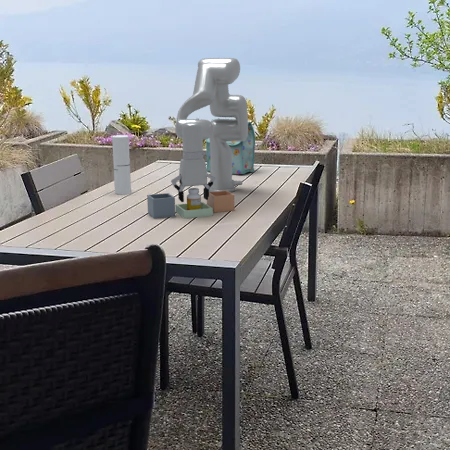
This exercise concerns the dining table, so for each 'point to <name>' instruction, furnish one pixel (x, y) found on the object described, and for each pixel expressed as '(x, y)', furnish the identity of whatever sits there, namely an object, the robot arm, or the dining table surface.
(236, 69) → the robot arm
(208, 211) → the green tray
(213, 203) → the terracotta square bin
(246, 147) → the lunch bag
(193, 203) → the supplement bottle
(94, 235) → the dining table surface
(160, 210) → the grey square bin
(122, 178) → the cylindrical container
